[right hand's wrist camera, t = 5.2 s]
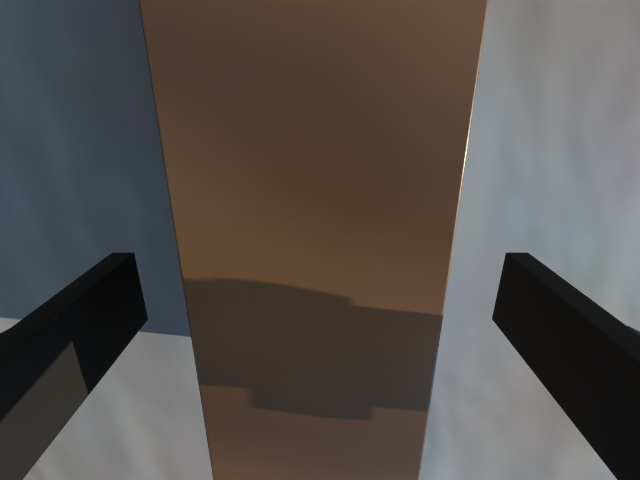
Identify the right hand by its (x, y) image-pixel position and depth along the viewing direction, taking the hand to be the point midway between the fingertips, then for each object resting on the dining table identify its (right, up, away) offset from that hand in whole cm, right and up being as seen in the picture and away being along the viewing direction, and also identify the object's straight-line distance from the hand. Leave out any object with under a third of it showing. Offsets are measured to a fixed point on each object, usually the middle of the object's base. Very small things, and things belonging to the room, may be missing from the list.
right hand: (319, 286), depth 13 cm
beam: (0, +32, -9) cm, 34 cm away
